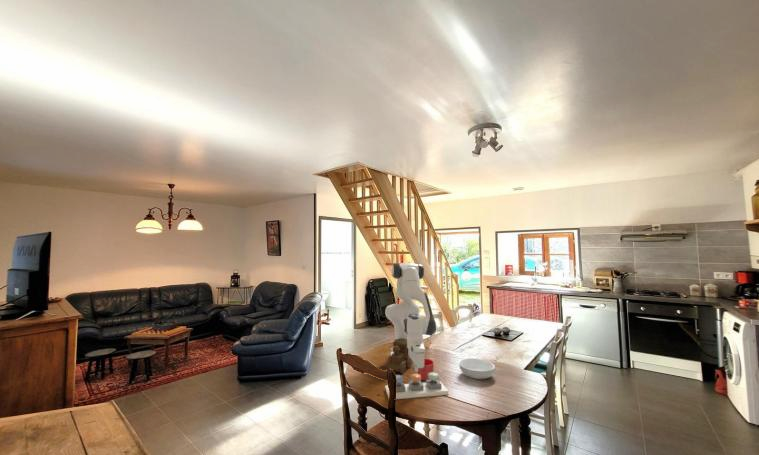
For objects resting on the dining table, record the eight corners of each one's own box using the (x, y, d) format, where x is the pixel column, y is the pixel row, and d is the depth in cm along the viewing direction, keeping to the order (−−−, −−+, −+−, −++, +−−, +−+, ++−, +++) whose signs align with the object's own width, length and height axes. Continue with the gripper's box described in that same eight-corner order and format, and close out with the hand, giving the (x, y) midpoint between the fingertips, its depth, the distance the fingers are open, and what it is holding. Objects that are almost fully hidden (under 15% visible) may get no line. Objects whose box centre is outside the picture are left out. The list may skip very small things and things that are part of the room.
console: (385, 389, 169) (385, 380, 170) (440, 384, 174) (440, 376, 174) (389, 399, 158) (388, 390, 158) (448, 394, 162) (447, 385, 162)
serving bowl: (498, 384, 173) (497, 372, 174) (460, 382, 177) (459, 369, 178) (492, 370, 194) (491, 359, 194) (458, 368, 198) (458, 357, 198)
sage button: (427, 381, 170) (426, 372, 170) (436, 380, 171) (436, 372, 171) (430, 385, 164) (430, 376, 165) (440, 384, 165) (439, 376, 165)
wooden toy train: (398, 362, 209) (397, 337, 211) (413, 365, 204) (413, 339, 205) (385, 373, 192) (384, 346, 193) (401, 376, 187) (401, 348, 188)
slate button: (391, 383, 167) (391, 375, 167) (401, 383, 168) (401, 374, 168) (393, 388, 161) (393, 379, 162) (404, 387, 162) (403, 378, 163)
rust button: (409, 382, 168) (409, 374, 169) (419, 381, 169) (419, 373, 170) (412, 386, 163) (412, 378, 163) (422, 386, 164) (422, 377, 164)
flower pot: (420, 383, 176) (420, 366, 177) (413, 375, 187) (413, 359, 187) (437, 380, 179) (436, 364, 180) (429, 373, 190) (429, 357, 190)
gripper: (405, 339, 177) (405, 364, 176) (414, 350, 157) (415, 378, 156) (415, 339, 178) (416, 363, 177) (426, 349, 158) (427, 377, 157)
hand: (416, 370), depth 166 cm, fingers closed
